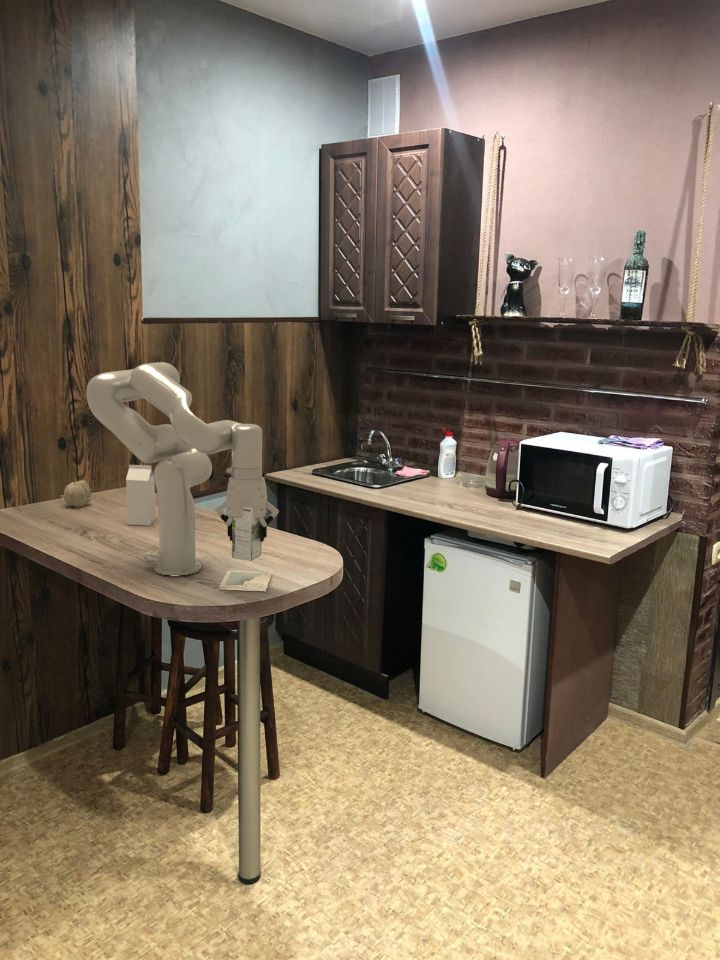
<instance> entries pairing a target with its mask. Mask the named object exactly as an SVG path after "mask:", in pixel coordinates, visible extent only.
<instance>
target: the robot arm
mask: <svg viewBox="0 0 720 960" xmlns="http://www.w3.org/2000/svg"><path fill="white" fill-rule="evenodd" d="M180 383H181V377H180V373H179V371H178V370H177V368H176V367H175V366H174V365H172V364H170V363H169V362H163V361H160V362H149V363H143V364H140V365H138V366H136V367H135V368H132V369H126V370H116V371H108V372H102V373H99V374H97V375H95V376H93V377H92V378H91V379H90V380H89V381H88V383H87V386H86V401H87V403H88V407H89V410H90V411H91V413H92V414H93V415H94V417H95V418H96V419H97V420H98V421H99V422H100V424H102V425H103V426H104V427H106V428H107V429H108V430H109V431H110V432H111V433H112V434H113V435H114V436H115V437H116V438H117V439H118V440H119V441H120V442H121V443H122V444H123V445H124V446H125V447H126V448H127V449H128V450H129V451H130V452H131V453H132V454H133V455H134V456H135V457H136V458H137V459H138V460H140V461H141V462H143V463H144V464H152V463H157V464H156V465H155V468H154V472H153V474H154V481H155V487H156V488H155V490H156V495H157V501H158V502H157V503H158V504H157V505H158V508H157V509H158V540H159V541H158V543H159V544H158V547H159V551H156V552H154V553H153V552H144V554H143V555H144V556H143V559H144V560H145V561H146V562H147V563H155V564H153V571H154V572H155V573H157V574H158V573H159V574H158V575H160V574H164V575H186V574H191V575H193V574H192V573H194V572H197V571H198V572H200V571H201V569H202V563H201V562H200V561H199V560H197V559H196V506H195V500H194V497H193V495H192V493H191V488H192V487H194V486H197V485H201V484H202V483H205V482H206V481H208V480H209V478H211V475H212V472H213V464H212V461H211V459H210V457H209V456H208V455H212V454H216V453H220V452H222V451H228V450H231V467H226V470H225V471H226V473H227V474H230V475H231V477H229V478H228V483H227V486H226V487H227V488H226V490H227V491H226V500H225V501H224V502H223V503H221V504H220V505H218V506H217V507H216V508H215V513H216V514H217V515H218V516H219V517H220V519H221V520H222V521H223V522H224V523H225V525H226V527H227V537H229V541H231V542H232V517H233V518H241V517H243V509H244V508H243V507H244V506H249V507H253V518H258V519H259V520H260V522H261V527H260V541H261V542H262V543H263V542H264V541H265V539H266V538H267V537H268V534H267V533H268V527H267V526H268V525H270V523H272V521H274V519H275V518H276V517H277V516H278V514H279V512H280V510H279V509H278V508H276V507H275V506H274V505H273V504H272V503H271V502H269V501H268V494H267V484H266V480H265V477H263V429H262V427H261V426H260V425H258V424H253V423H241V422H237V421H234V420H230V419H222V420H220V421H218V420H217V421H214V422H211V423H206V422H204V421H203V420H202V419H200V418H199V417H197V416H196V415H195V414H194V413H193V412H192V411H191V410H190V406H191V404H192V402H193V396H192V393H191V392H190V391H189V390H188V389H187V388H185V387H184V386H183V385H181V384H180ZM142 399H144V400H145V401H147V402H148V403H150V405H152V406H154V407H155V408H156V409H157V410H159V411H161V412H162V413H163V414H164V415H166V416H167V417H168V418H169V421H170V424H169V423H166V424H165V423H163V424H158V425H152V424H150V423H149V422H148V421H147V420H146V419H145V418H143V416H142V415H141V414H140V413H139V412H137V411H136V409H135V410H134V409H133V408H131V407H129V406H127V405H125V404H124V403H126V402H133V401H137V400H142ZM242 508H243V509H242ZM224 509H225V511H226V512H224V511H223V510H224ZM268 511H270V512H271V514H269V515H268V516H267V517H266V514H267V512H268ZM199 570H200V571H199ZM198 572H197V573H198ZM194 574H195V573H194ZM164 575H163V576H164Z"/></svg>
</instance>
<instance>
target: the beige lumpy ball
mask: <svg viewBox="0 0 720 960" xmlns="http://www.w3.org/2000/svg"><path fill="white" fill-rule="evenodd" d="M91 494H92V493H91V487H90V485H89V483H88V482H87V481H85V480H78V481H73V482H71V483H69V484H68V485H66V486H65V488H64V491H63V495H62V494H61V495H60V498H61V499H63V500H64V502H65V504H66V505H67V506H68V507H74V506H75V508H83V507H85V506H87V505H88V504H89V503H91V502H92V498H91V497H92V495H91Z"/></svg>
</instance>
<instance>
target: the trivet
mask: <svg viewBox="0 0 720 960" xmlns="http://www.w3.org/2000/svg"><path fill="white" fill-rule="evenodd" d="M259 572H261V573H259ZM262 572H263V571H251V570H247V571H246V570H227V571H226V573H225V574H224V577H223V578H222V581H221V582H220V584H219V586H218V588H219V587H220V586H224V585H228V586H231V585H243V584H244V582H245V581H250V580H252V579H254V578H255V577H257V576H259V577H261V575H264V574H265V573H262ZM221 584H222V585H221ZM245 585H246V584H245ZM226 587H227V586H226Z"/></svg>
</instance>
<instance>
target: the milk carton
mask: <svg viewBox="0 0 720 960" xmlns="http://www.w3.org/2000/svg"><path fill="white" fill-rule="evenodd" d="M152 469H153V468H152V465H142V464H141V465H140V464H138V465H137V464H128V471H127V474H126V478H125V485H126V486H125V489H126V490H125V491H126V493H125V494H126V522H127V523H126V524H127V525H129V526H151V525H152V523H153V522H154V521H156V495H155V493H156V491H155V490H156V488H155V487H156V485H155V480H154V472H153V470H152Z"/></svg>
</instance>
